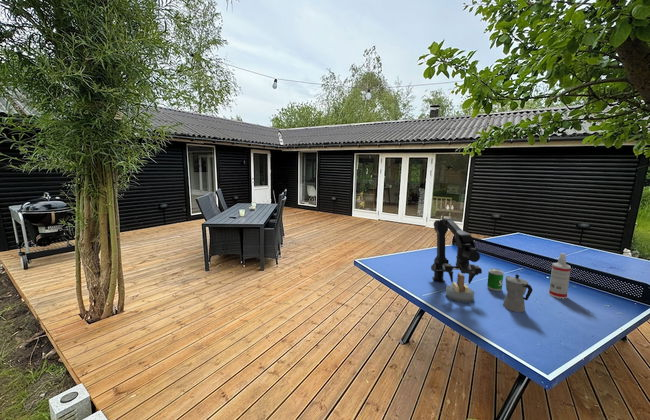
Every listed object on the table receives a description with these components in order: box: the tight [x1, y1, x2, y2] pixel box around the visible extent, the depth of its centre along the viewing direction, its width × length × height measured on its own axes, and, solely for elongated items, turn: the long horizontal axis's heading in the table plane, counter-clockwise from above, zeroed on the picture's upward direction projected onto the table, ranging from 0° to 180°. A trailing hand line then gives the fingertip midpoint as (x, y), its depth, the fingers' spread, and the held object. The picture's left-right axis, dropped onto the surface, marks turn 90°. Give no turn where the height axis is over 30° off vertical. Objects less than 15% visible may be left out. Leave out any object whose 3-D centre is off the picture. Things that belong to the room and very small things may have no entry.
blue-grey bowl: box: [445, 281, 475, 303], centre depth 145 cm, size 14×14×7 cm
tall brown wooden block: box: [456, 272, 466, 292], centre depth 144 cm, size 5×2×9 cm, turn 169°
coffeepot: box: [502, 274, 533, 313], centre depth 131 cm, size 15×9×18 cm, turn 6°
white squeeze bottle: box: [548, 252, 572, 300], centre depth 145 cm, size 8×8×25 cm
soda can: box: [486, 267, 505, 292], centre depth 154 cm, size 8×8×12 cm
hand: (460, 283), depth 144 cm, fingers open, 9 cm apart
